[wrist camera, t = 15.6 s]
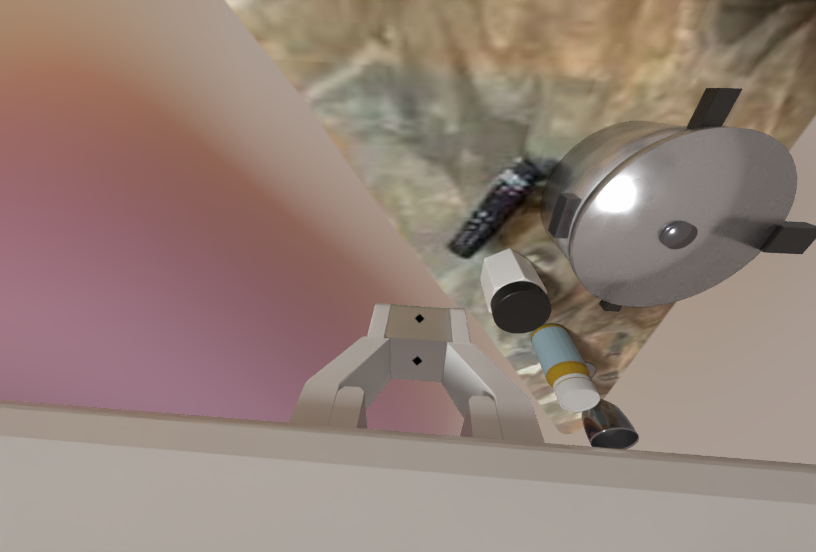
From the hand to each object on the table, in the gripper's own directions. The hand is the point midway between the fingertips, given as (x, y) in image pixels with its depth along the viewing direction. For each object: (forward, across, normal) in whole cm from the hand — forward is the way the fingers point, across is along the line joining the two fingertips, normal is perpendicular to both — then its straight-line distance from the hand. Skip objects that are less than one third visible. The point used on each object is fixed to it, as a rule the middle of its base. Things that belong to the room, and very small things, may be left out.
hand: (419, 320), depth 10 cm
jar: (+37, -15, +20) cm, 45 cm away
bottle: (+37, -27, +35) cm, 58 cm away
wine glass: (+37, -37, +46) cm, 70 cm away
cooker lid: (+25, -30, +6) cm, 39 cm away
